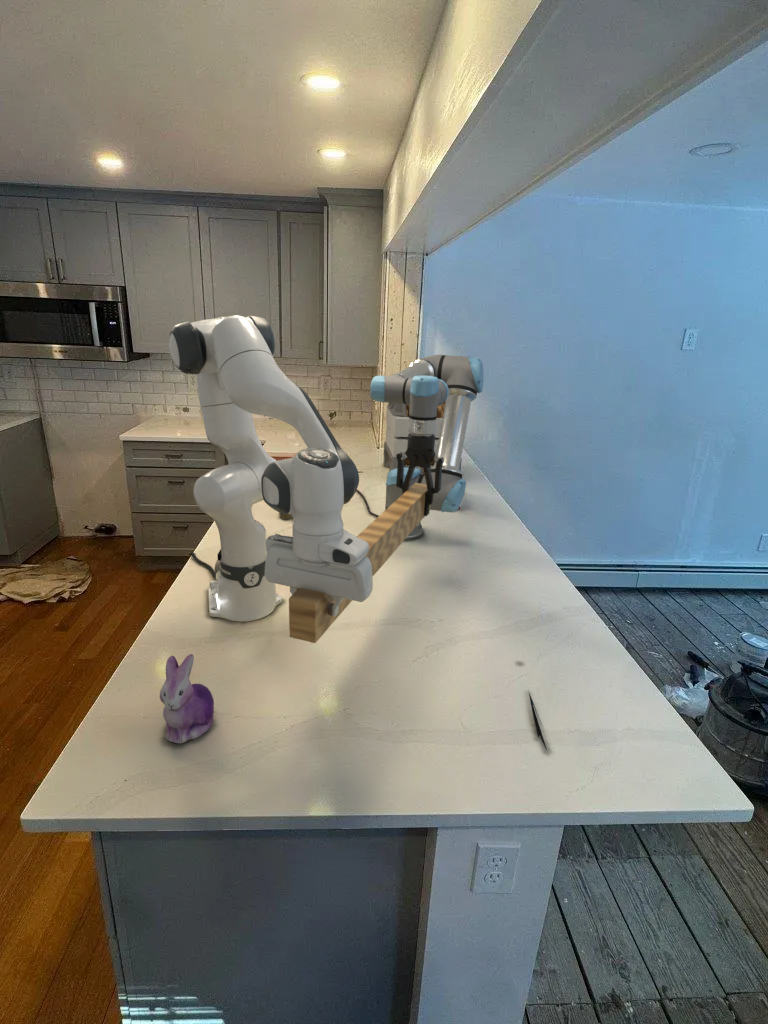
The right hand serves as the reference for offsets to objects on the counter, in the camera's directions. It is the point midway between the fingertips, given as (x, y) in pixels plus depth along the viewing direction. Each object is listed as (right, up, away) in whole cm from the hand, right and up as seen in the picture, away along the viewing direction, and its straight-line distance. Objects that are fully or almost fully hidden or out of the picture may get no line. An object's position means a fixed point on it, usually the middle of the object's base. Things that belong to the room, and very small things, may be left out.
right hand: (416, 512), depth 164 cm
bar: (-11, -11, -29) cm, 33 cm away
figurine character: (-54, -17, +4) cm, 57 cm away
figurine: (-45, -40, -59) cm, 84 cm away
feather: (+21, -39, -48) cm, 65 cm away
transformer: (+8, +19, +111) cm, 113 cm away
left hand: (-22, -18, -59) cm, 66 cm away
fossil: (-43, +1, +54) cm, 69 cm away
